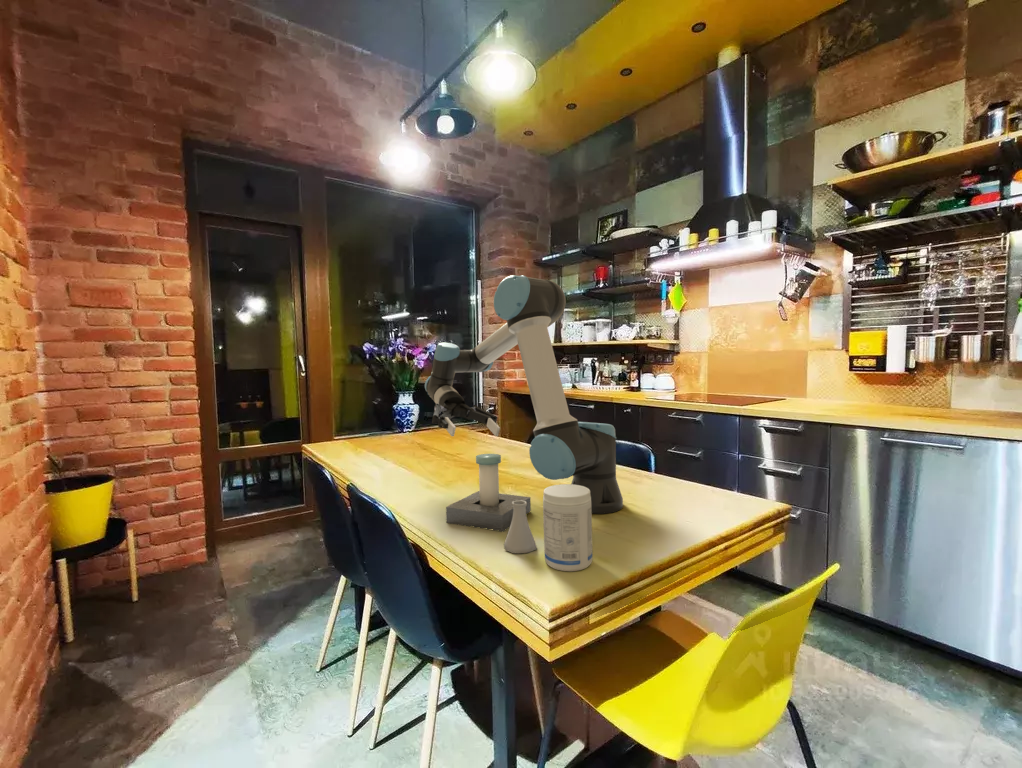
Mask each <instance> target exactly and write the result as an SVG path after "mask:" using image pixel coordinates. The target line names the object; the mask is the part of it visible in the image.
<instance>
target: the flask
mask: <svg viewBox="0 0 1022 768" xmlns="http://www.w3.org/2000/svg"><path fill="white" fill-rule="evenodd" d="M512 504H513V506H514V512H513V518H512V522H511V525H510V527H509V528H508V532H507V535H506V536H505V537H506V538H505V541H504V544H503V547H504V550H505V551H507V552H510V553H512V554H526V553H527V554H528V553H531V552H533V551H535V550H537V549H538V547H537V545H536V541H535V539H534V536H533V534H532V530H531V527H530V523H529V521H528V517H527V515H526V506H527V502H526V501H523V500H518V501H513V502H512Z"/></svg>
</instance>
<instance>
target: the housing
mask: <svg viewBox="0 0 1022 768" xmlns="http://www.w3.org/2000/svg"><path fill="white" fill-rule="evenodd" d="M518 500H523V501H526V502H527V506H526V514H527V513H529V512H530V511H532V510H531V497H530V496H523V495H517V494H516V495H515V494H507V493H500V492H499V504H498V505H497V506H495V507H491V506H484V505H480V490H477V491H476V492H474V493H472V494H470V495H467V496H465V497H464V498H462V499H459V500H458V501H455V502H453V503H451V504H450V505H447V506H445V516H446V517H445V518H446V519H445V520H446V524H453V525H458V524H459V526H464V525H466V526H465V527H470V526H474V527H473V528H477V527H480V528H479V529H483V528H487V529H486V530H489V529H493V530H492V531H495V530H499V531H498V532H502V531H503V532H505V531H506V530H507V529H509V528H510V525H511V522H512V518H513V512H514V506H513V504H512V502H513V501H518ZM530 513H531V512H530ZM530 513H529V514H530ZM527 515H528V514H527ZM508 527H509V528H508ZM505 529H506V530H505Z"/></svg>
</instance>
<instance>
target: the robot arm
mask: <svg viewBox="0 0 1022 768" xmlns="http://www.w3.org/2000/svg"><path fill="white" fill-rule="evenodd" d="M566 302H567V300H566V296H565V293H564V290H563V288H562V287H561V286H560V285H559V284H558V283H556V282H555V281H552V280H548V279H542V278H535V277H531V276H529V277H528V276H526V275H521V274H520V275H515V274H512V275H509V276H508V275H507V277H505V278H503V280H502V281H500V283H499V284H498V285H497V287H496V291H495V292H494V296H493V308H494V312H495V314H496V315H497V317H499V318H500V319H501V320H504V321H506V323H505V324H503V325H502V326H501V327H499V328H498V329H496V330H495V331H494V332H493V333H492V334H490V335H489V336H487V337H486V338H485V339H484V340H482V342H480V343H479V344H477V345H476V346H475V347H474V348H472V349H460V346H458V345H457V344H455V343H451V342H439V343H438V344H437V345H436V348H435V352H434V354H433V363H432V368H431V374H430V376H428V377H427V378H426V379H425V383H424V389H425V392H426V393H427V395H428V397H429V398H431V400H432V401H433V402H434V403H435V404H434V410H433V415H432V420H431V424H433V425H436V424H438V425H437V427H438V428H443V429H445V430H446V432H447V433H448V434H449V435H450V436H451V437H455V433H456V428H457V427H456V425H455V424H454V423H453V421H451V420H452V418H464V419H467V420H473V421H476V422H479V423H481V424H484V425H486V428H487V429H488V430H490V432H491V433H492V434H493V435H494V436H495V437H499V433H500V429H501V427H500V426H499V425H498V423H497V420H498V416H497V415H495V414H492V413H491V412H489V411H486V410H485V409H483V408H481V407H479V406H478V405H476V404H473V406H472V407H470V405H467V404H466V401H465V399H464V397H463V396H461V394H459V393H460V392H458V391H457V390H456V389H455V388H454V387H453V383H454V379H455V375H456V374H457V373H484V372H487V371H490V370H491V369H492V366H493V365H494V361H496V360H497V359H499V358H500V357H502V356H503V355H504V354H506V353H508V352H509V351H511V349H513V348H515V347H516V346H517V345H518V349H519V353H520V357H521V361H522V366H523V371H524V374H525V379H526V382H527V385H528V390H529V394H530V399H531V403H532V406H533V410H534V414H535V419H536V425H535V427H534V428H533V430H532V432H533V436H534V438H533V439H532V441H531V442H530V446H529V449H528V450H529V457H530V461H531V462H530V463H531V464H532V466H533V468H534V469H535V471H536V472H537V473H538V474H539V475H541V476H542V477H543V478H545V479H547V480H550V481H551V480H553V481H558V480H564V479H565V480H566V479H569V478H570V477H573V478H572V479H571V483H570V484H573V485H580V486H584V487H586V488H588V489H589V490H590V496H591V511H592V514H596V515H597V514H601V515H602V514H603V515H604V514H611V513H612V514H613V513H615V512H618V511H620V510H622V509H623V507H624V500H623V499H624V498H623V495H622V492H621V489H620V486H619V483H618V480H617V459H616V458H617V447H616V446H617V436H616V428H615V427H614V425H613V424H610V423H602V422H601V423H600V422H588V421H578V419H577V418H576V417H574V416H573V415H571V414H570V410H569V406H568V403H567V399H566V395H565V390H564V387H563V384H562V380H561V376H560V371H559V368H558V363H557V360H556V357H555V352H554V347H553V345H552V344H553V343H552V340H551V337H550V336H551V335H550V334H549V330H548V329H549V327H550V326H551V325H553V324H554V323H556V322H557V321H558V320H559V319H560V318H561V316H562V315H563V313H564V311H565V310H566V309H565V307H566V304H567V303H566ZM441 412H442V414H441Z"/></svg>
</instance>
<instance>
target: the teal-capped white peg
mask: <svg viewBox="0 0 1022 768" xmlns="http://www.w3.org/2000/svg"><path fill="white" fill-rule="evenodd" d="M475 463H476V464H477V465H478V482H479V483H478V485H479V486H478V488H479V490H478V491H480V505H484V506H491V507H495V506H497V505H498V504H499V493H500V487H499V486H500V481H499V479H500V477H499V464H500V463H502V456H501V454H498V453H481V454H478V455H475Z"/></svg>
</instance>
